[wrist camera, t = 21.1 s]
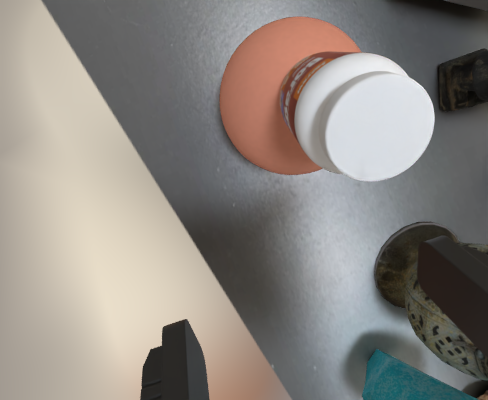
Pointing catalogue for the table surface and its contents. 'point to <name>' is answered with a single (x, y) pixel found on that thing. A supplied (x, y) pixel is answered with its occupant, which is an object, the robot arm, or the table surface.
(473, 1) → the alarm clock
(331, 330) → the table surface
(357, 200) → the table surface
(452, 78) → the statue
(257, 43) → the ball
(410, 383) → the crystal
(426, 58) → the table surface
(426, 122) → the pill bottle
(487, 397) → the rock
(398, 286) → the lantern
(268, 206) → the table surface
